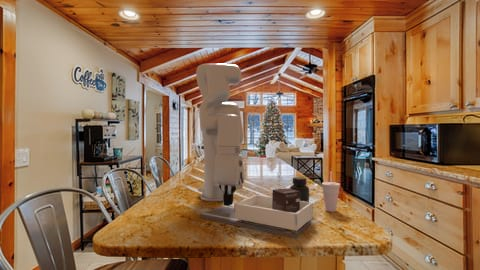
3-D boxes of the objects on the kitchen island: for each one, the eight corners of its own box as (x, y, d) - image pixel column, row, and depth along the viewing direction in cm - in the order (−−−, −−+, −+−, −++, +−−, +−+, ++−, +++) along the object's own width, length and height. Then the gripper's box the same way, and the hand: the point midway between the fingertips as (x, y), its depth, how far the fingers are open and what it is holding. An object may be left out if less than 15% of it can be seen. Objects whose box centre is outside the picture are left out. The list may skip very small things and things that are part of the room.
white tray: (234, 220, 86) (234, 203, 86) (256, 209, 98) (256, 194, 98) (296, 233, 75) (296, 214, 75) (312, 219, 87) (312, 202, 87)
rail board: (199, 217, 93) (199, 214, 93) (224, 207, 105) (224, 204, 105) (295, 237, 76) (295, 233, 76) (311, 223, 87) (311, 219, 87)
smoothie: (340, 208, 104) (341, 171, 103) (339, 213, 98) (339, 173, 97) (322, 206, 106) (323, 169, 106) (320, 211, 100) (320, 172, 100)
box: (284, 218, 81) (284, 193, 80) (271, 213, 86) (271, 189, 86) (300, 215, 84) (300, 191, 83) (287, 210, 89) (287, 187, 89)
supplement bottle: (309, 215, 96) (309, 180, 96) (289, 213, 97) (289, 179, 97) (308, 209, 103) (308, 176, 102) (289, 208, 104) (289, 176, 104)
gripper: (253, 151, 94) (252, 205, 95) (217, 149, 102) (217, 199, 103) (241, 153, 88) (241, 211, 89) (204, 150, 96) (204, 204, 96)
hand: (228, 204), depth 96 cm, fingers closed
